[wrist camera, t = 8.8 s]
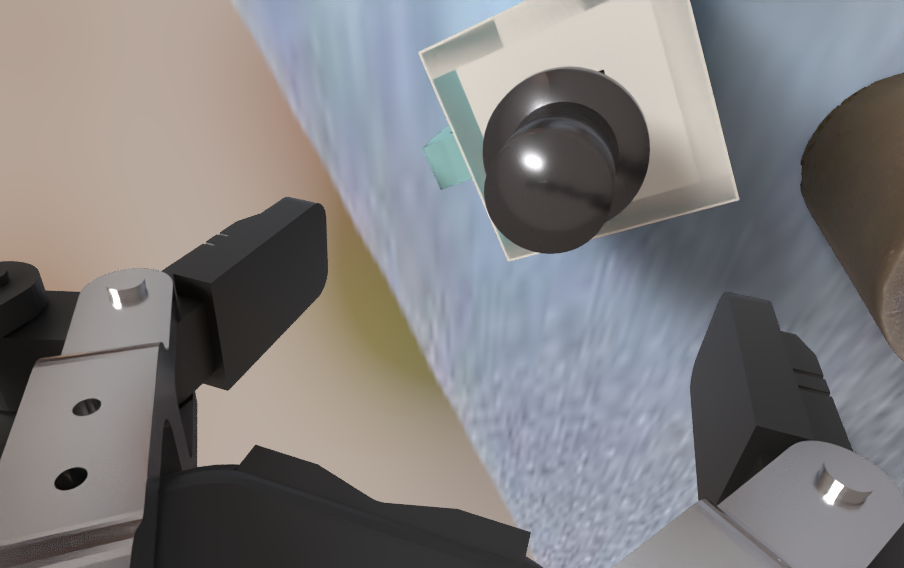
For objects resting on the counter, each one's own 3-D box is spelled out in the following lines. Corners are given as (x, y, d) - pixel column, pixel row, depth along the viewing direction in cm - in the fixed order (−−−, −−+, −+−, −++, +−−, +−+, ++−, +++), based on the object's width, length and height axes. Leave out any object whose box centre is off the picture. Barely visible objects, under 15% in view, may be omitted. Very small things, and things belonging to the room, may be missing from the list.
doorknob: (673, 104, 30) (693, 265, 15) (563, 142, 32) (488, 312, 18) (640, -15, 28) (625, 37, 13) (525, 36, 30) (403, 129, 16)
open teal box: (709, 107, 32) (739, 200, 21) (522, 170, 37) (463, 273, 26) (665, -67, 29) (672, -70, 18) (466, 28, 34) (370, 75, 23)
